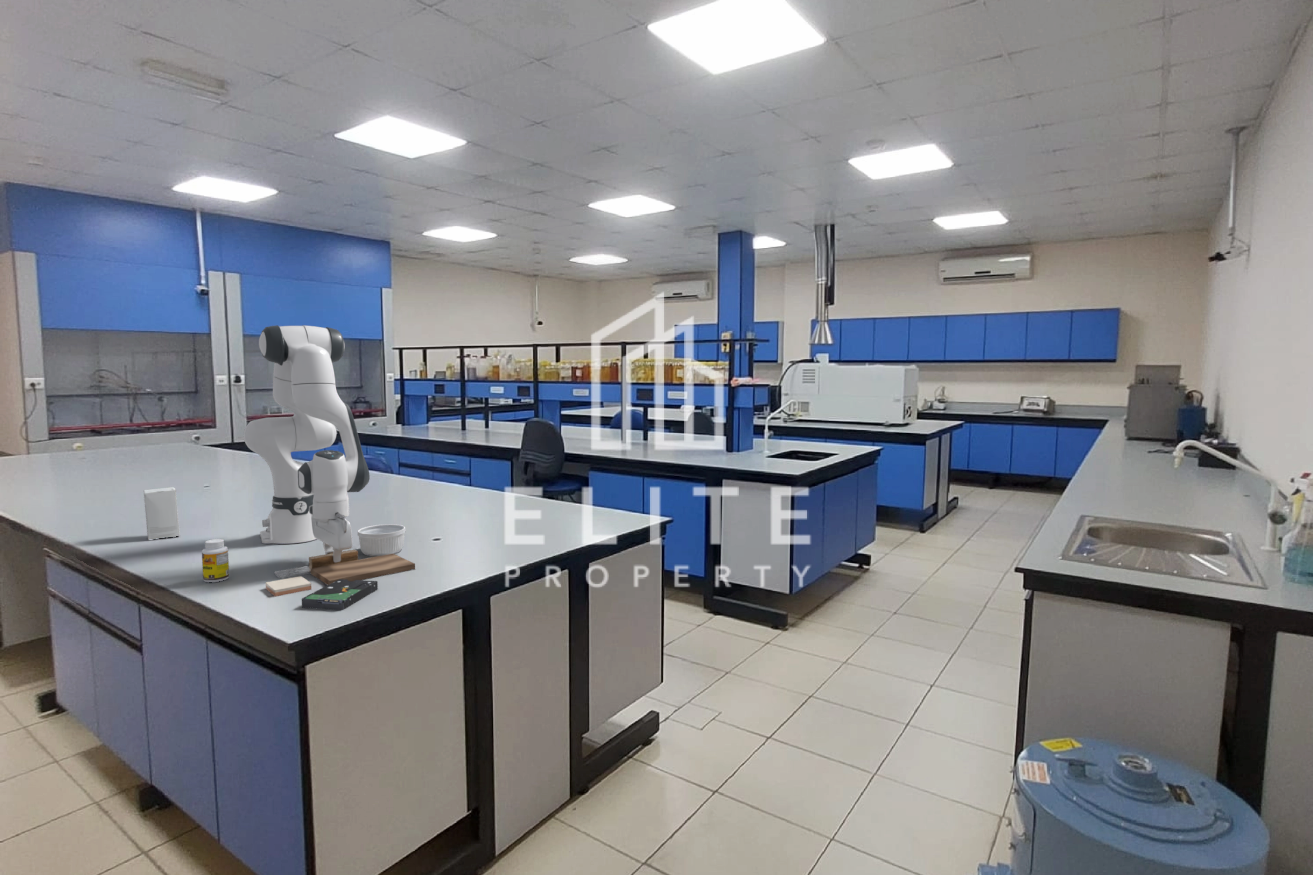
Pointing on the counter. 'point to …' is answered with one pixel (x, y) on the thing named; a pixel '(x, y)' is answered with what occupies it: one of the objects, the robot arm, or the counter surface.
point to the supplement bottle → (215, 561)
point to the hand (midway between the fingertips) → (333, 559)
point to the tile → (288, 586)
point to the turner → (317, 564)
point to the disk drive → (339, 594)
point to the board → (362, 568)
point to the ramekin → (381, 539)
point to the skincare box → (161, 513)
